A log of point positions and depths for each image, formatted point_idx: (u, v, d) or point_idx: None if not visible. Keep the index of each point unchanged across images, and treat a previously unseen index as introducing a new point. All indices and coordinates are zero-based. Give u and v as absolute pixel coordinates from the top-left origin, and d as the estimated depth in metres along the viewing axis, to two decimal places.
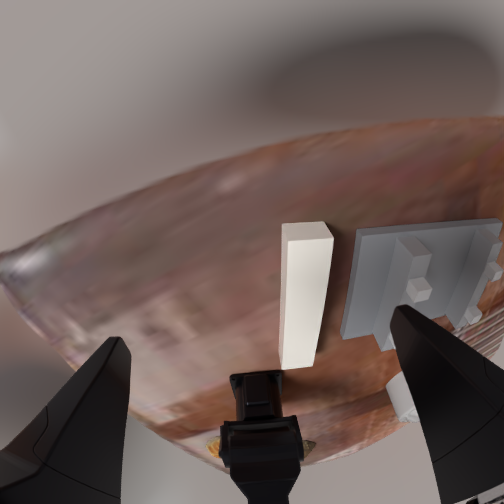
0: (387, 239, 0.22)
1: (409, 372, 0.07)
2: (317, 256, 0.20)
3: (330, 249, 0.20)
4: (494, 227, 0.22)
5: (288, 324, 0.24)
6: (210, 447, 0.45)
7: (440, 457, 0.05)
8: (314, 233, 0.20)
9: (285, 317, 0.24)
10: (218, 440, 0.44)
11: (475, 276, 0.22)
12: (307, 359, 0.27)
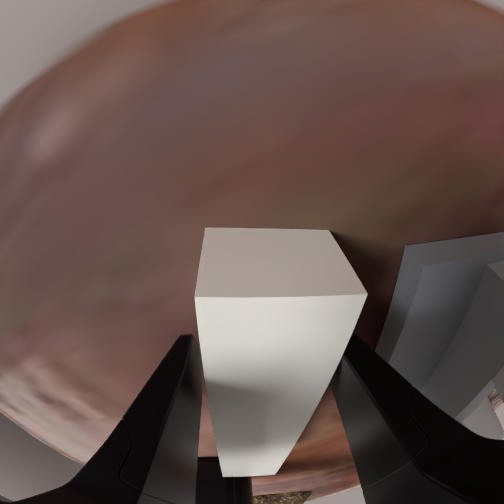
0: (471, 270, 0.07)
1: (336, 392, 0.07)
2: (303, 344, 0.06)
3: (348, 327, 0.06)
4: None
5: (223, 446, 0.09)
6: None
7: (368, 487, 0.05)
8: (300, 270, 0.06)
9: (216, 438, 0.09)
10: None
11: None
12: (266, 471, 0.13)
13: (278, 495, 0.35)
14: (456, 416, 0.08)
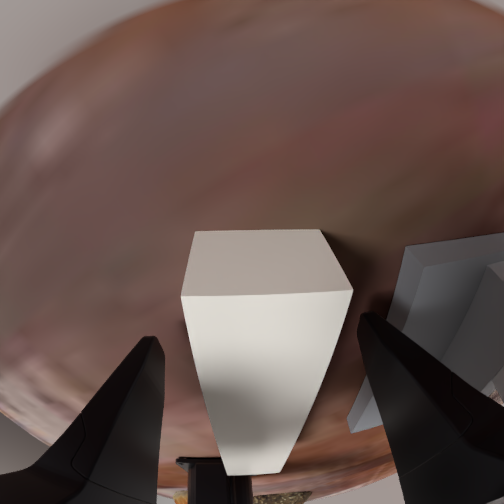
0: (471, 271, 0.07)
1: (374, 382, 0.07)
2: (292, 341, 0.06)
3: (336, 323, 0.06)
4: None
5: (224, 444, 0.10)
6: (177, 500, 0.30)
7: (406, 473, 0.05)
8: (286, 268, 0.06)
9: (216, 436, 0.09)
10: (183, 496, 0.29)
11: None
12: (270, 469, 0.13)
13: (278, 495, 0.35)
14: None
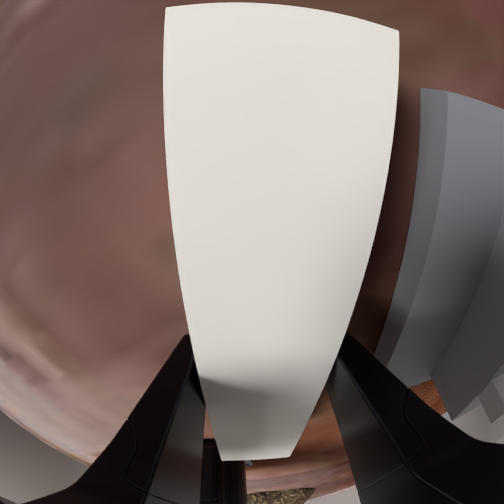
0: (502, 128, 0.05)
1: (331, 393, 0.07)
2: (330, 102, 0.03)
3: (389, 81, 0.03)
4: None
5: (214, 396, 0.07)
6: None
7: (363, 488, 0.05)
8: None
9: (202, 378, 0.07)
10: None
11: None
12: (278, 450, 0.10)
13: (278, 492, 0.32)
14: None
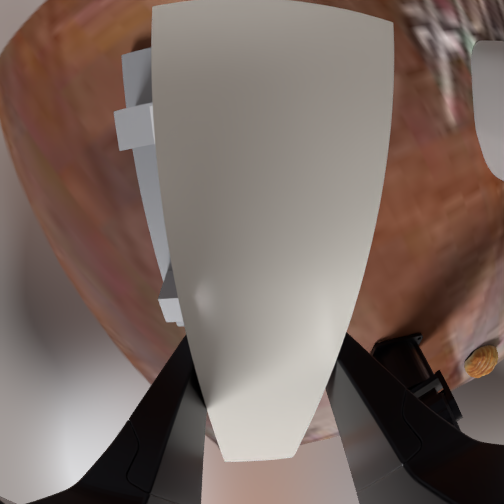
0: None
1: (330, 393, 0.07)
2: (323, 96, 0.03)
3: (384, 74, 0.03)
4: (131, 79, 0.12)
5: (214, 398, 0.07)
6: None
7: (362, 488, 0.05)
8: None
9: (201, 380, 0.06)
10: None
11: None
12: (281, 451, 0.10)
13: None
14: None
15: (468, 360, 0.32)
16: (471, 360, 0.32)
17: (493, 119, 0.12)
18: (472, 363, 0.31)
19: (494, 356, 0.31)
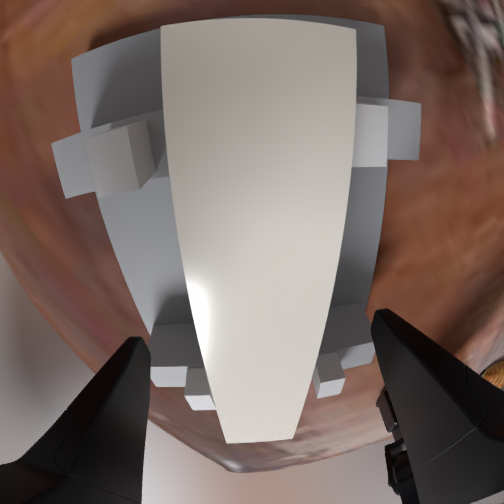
0: None
1: (389, 378, 0.07)
2: (297, 94, 0.04)
3: (348, 73, 0.04)
4: (84, 89, 0.08)
5: (215, 367, 0.08)
6: None
7: (420, 466, 0.05)
8: None
9: (202, 348, 0.07)
10: None
11: None
12: (281, 430, 0.11)
13: None
14: None
15: None
16: None
17: None
18: None
19: None
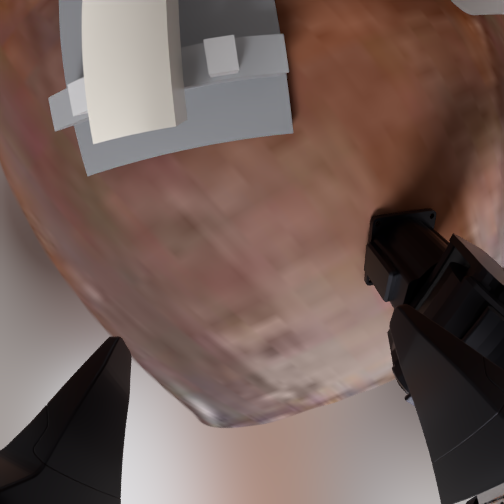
0: (84, 136, 0.14)
1: (409, 372, 0.07)
2: None
3: None
4: None
5: None
6: None
7: (440, 457, 0.05)
8: None
9: None
10: None
11: None
12: (152, 91, 0.08)
13: None
14: None
15: None
16: None
17: None
18: None
19: None
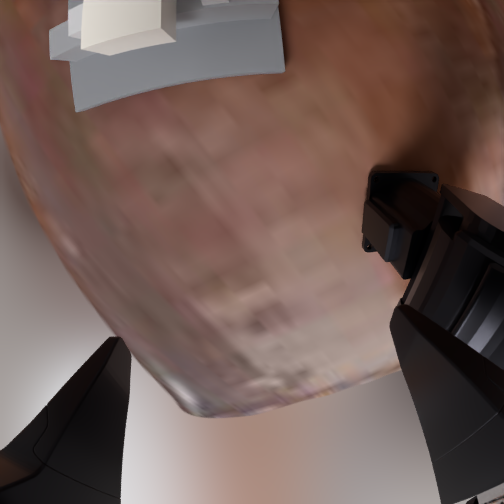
0: (78, 73, 0.12)
1: (409, 372, 0.07)
2: None
3: None
4: None
5: None
6: None
7: (440, 457, 0.05)
8: None
9: None
10: None
11: None
12: (143, 1, 0.06)
13: None
14: None
15: None
16: None
17: None
18: None
19: None
